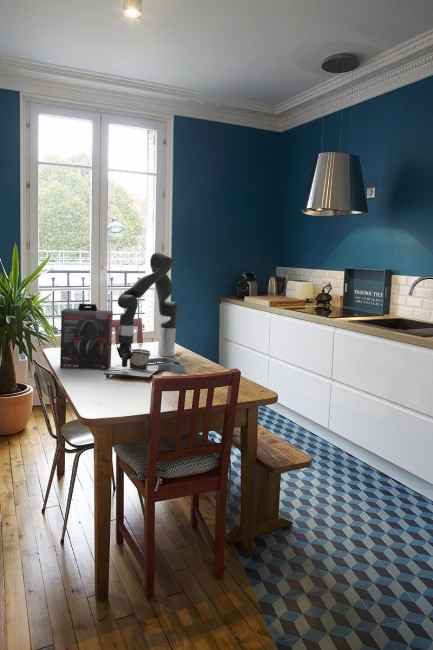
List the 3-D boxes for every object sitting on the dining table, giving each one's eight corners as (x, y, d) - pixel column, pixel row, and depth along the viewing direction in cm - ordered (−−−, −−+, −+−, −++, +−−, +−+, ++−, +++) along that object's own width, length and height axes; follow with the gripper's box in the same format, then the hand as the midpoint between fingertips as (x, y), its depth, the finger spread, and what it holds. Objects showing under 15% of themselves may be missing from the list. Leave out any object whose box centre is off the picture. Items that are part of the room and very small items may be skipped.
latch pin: (171, 363, 268) (171, 352, 267) (177, 362, 271) (178, 352, 270) (176, 364, 265) (177, 354, 264) (182, 364, 268) (183, 353, 267)
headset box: (58, 368, 255) (60, 303, 251) (63, 363, 267) (66, 301, 264) (107, 370, 257) (111, 306, 254) (110, 365, 270) (113, 304, 266)
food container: (153, 369, 269) (154, 350, 268) (148, 371, 263) (149, 352, 262) (133, 366, 273) (134, 348, 272) (127, 368, 267) (128, 349, 266)
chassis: (141, 364, 278) (141, 357, 277) (165, 362, 289) (165, 355, 289) (168, 373, 261) (169, 366, 260) (192, 370, 272) (193, 363, 272)
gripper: (112, 332, 261) (111, 365, 263) (127, 336, 251) (125, 370, 254) (125, 331, 266) (123, 363, 268) (139, 335, 257) (137, 368, 259)
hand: (124, 366), depth 261 cm, fingers closed
